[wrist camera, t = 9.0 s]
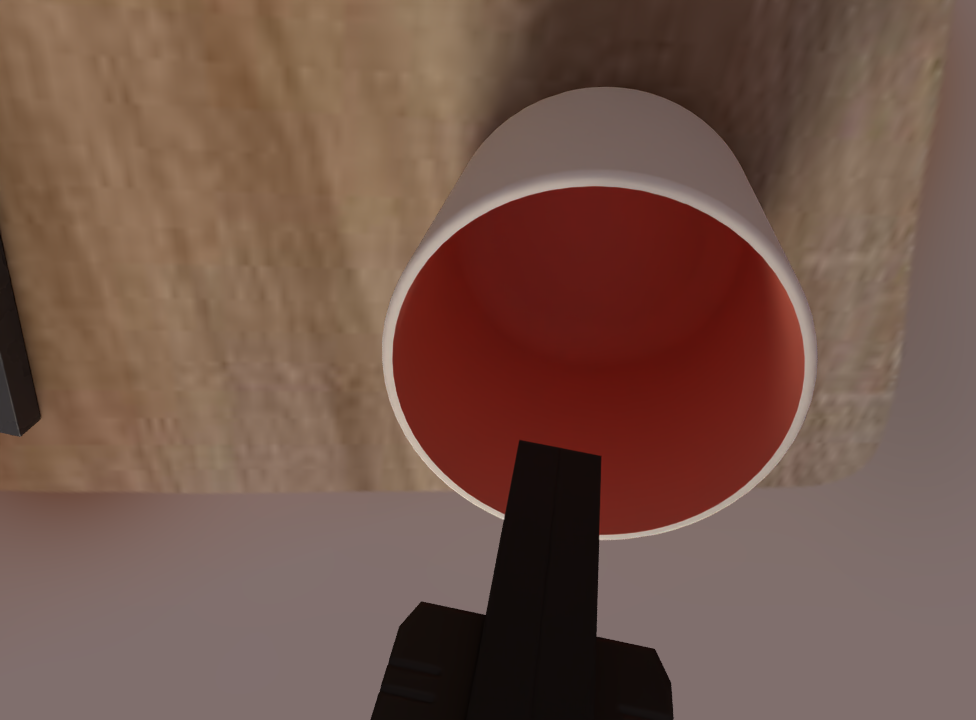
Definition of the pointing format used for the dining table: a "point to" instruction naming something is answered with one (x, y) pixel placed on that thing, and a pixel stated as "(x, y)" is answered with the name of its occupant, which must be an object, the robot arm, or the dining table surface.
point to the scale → (13, 365)
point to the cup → (603, 315)
